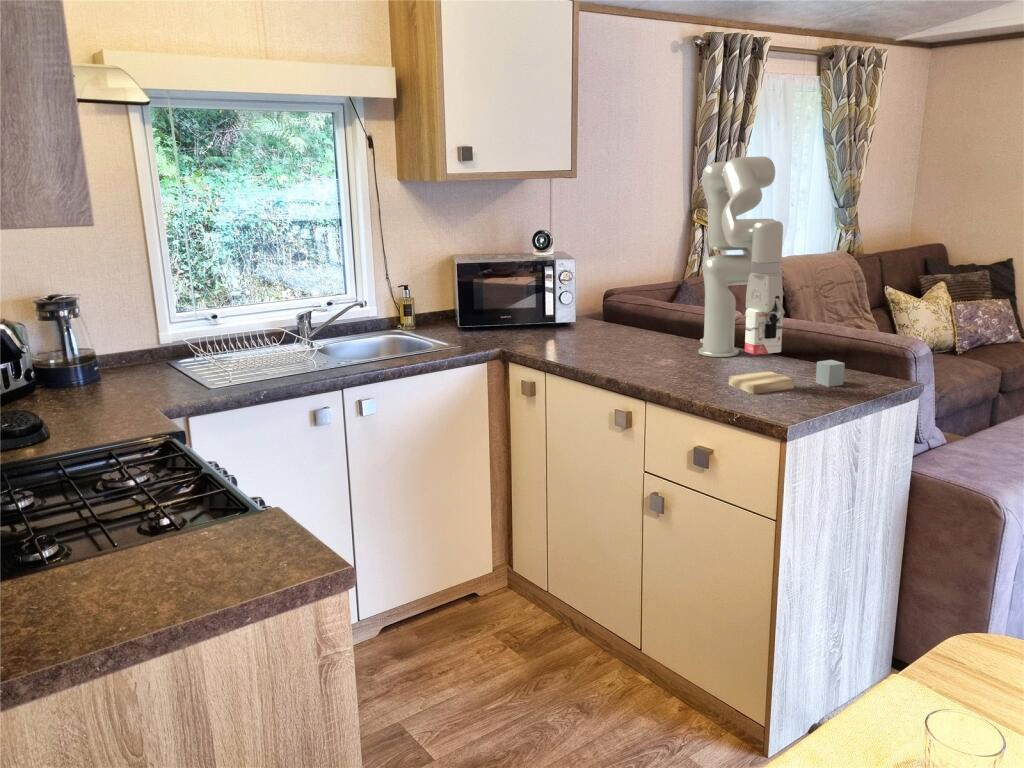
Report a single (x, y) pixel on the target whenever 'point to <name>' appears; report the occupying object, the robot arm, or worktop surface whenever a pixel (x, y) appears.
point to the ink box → (761, 334)
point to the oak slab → (761, 382)
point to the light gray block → (830, 373)
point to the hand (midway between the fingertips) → (763, 335)
